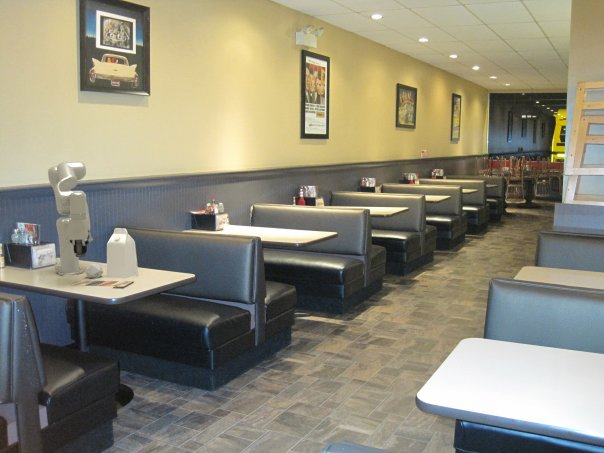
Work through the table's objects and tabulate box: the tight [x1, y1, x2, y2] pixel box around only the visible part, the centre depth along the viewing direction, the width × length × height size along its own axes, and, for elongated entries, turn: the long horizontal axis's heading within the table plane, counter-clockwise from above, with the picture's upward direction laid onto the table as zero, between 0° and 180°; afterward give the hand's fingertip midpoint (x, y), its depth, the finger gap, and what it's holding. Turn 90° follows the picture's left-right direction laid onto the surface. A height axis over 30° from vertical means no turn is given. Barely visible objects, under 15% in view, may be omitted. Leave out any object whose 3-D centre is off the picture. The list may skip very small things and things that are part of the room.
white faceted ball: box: [84, 263, 104, 279], centre depth 316 cm, size 8×9×10 cm
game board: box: [72, 280, 135, 289], centre depth 301 cm, size 28×13×1 cm, turn 83°
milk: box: [106, 227, 139, 279], centre depth 319 cm, size 12×12×26 cm
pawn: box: [75, 240, 87, 258], centre depth 300 cm, size 5×5×10 cm
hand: (80, 252), depth 301 cm, fingers closed on pawn, 3 cm apart
